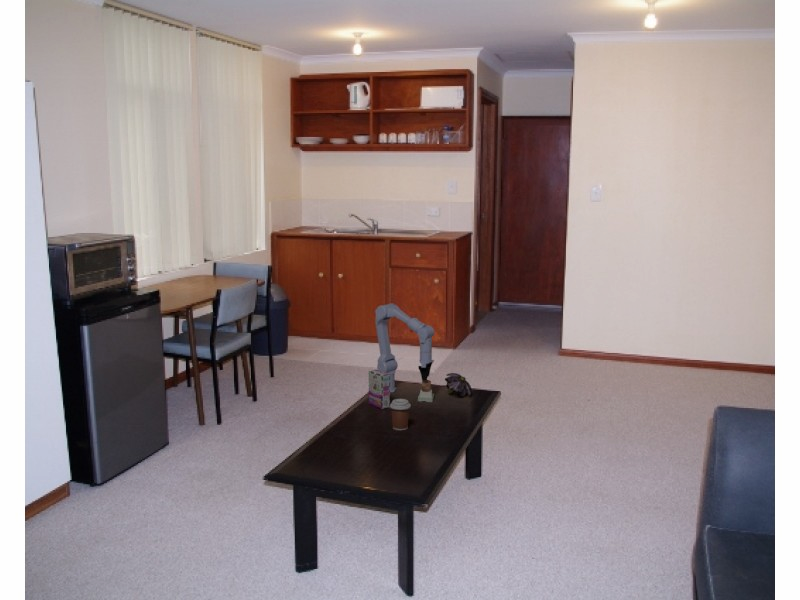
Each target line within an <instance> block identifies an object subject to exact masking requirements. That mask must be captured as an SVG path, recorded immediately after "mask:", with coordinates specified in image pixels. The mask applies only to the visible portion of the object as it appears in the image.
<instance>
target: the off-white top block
mask: <svg viewBox="0 0 800 600" xmlns="http://www.w3.org/2000/svg"><path fill="white" fill-rule="evenodd" d="M419 391H420V392H419V394H420V397H431V398H432V394H433V389H432V388H431V391H430V392H423V391H422V388H420V390H419Z"/></svg>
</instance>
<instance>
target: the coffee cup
mask: <svg viewBox="0 0 800 600" xmlns="http://www.w3.org/2000/svg"><path fill="white" fill-rule="evenodd" d="M411 407H412V405H411V403H410V402H409V400H408V399H405V398H395V399H393V400H392V401H391V402H390V408H389V409H390V410H391V420H392V422H391V423H392V429H393V430H395V431H405V430H407V429H408V427H409V426H408V425H409V415H410V408H411Z"/></svg>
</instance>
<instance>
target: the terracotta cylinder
mask: <svg viewBox="0 0 800 600" xmlns="http://www.w3.org/2000/svg"><path fill="white" fill-rule="evenodd" d="M421 389H422V391H423V392H430V391H431V389H432V381H431V380H430V379H427V381H422V380H421Z"/></svg>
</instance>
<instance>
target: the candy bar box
mask: <svg viewBox="0 0 800 600" xmlns="http://www.w3.org/2000/svg"><path fill="white" fill-rule="evenodd" d="M368 404H369V405H371V406H373V405H374V406H373V407H375V406H376V407H375V408H377V409H381V410H386V409H391V408H390V404H391V392H390V374H388V373H385V372H382V371H379V370H378V369H371V370H368ZM385 408H386V409H385Z"/></svg>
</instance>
